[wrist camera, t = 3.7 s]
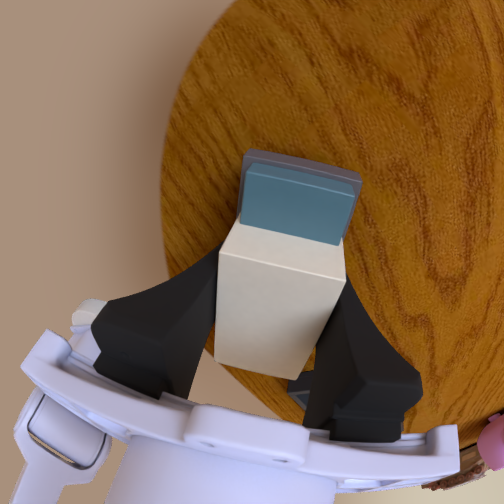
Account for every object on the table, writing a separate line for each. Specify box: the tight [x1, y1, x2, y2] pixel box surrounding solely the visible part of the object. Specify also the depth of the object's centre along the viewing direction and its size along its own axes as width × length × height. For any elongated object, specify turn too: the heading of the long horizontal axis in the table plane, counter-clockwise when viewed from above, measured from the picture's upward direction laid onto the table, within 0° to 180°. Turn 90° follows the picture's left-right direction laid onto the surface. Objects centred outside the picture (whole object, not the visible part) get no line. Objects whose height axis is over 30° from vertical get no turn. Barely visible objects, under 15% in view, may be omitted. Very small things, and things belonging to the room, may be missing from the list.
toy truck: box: [214, 148, 363, 380], centre depth 12 cm, size 10×5×4 cm, turn 173°
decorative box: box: [421, 445, 491, 491], centre depth 34 cm, size 13×20×10 cm, turn 150°
